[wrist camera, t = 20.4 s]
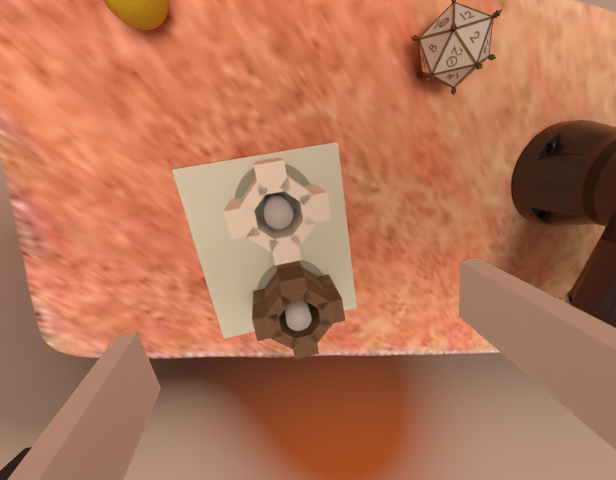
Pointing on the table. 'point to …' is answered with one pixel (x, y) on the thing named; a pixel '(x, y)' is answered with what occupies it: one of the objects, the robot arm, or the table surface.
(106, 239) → the table surface
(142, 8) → the lemon
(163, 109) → the table surface
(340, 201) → the board
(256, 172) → the cream gear
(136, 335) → the robot arm
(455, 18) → the game die
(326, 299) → the walnut gear
